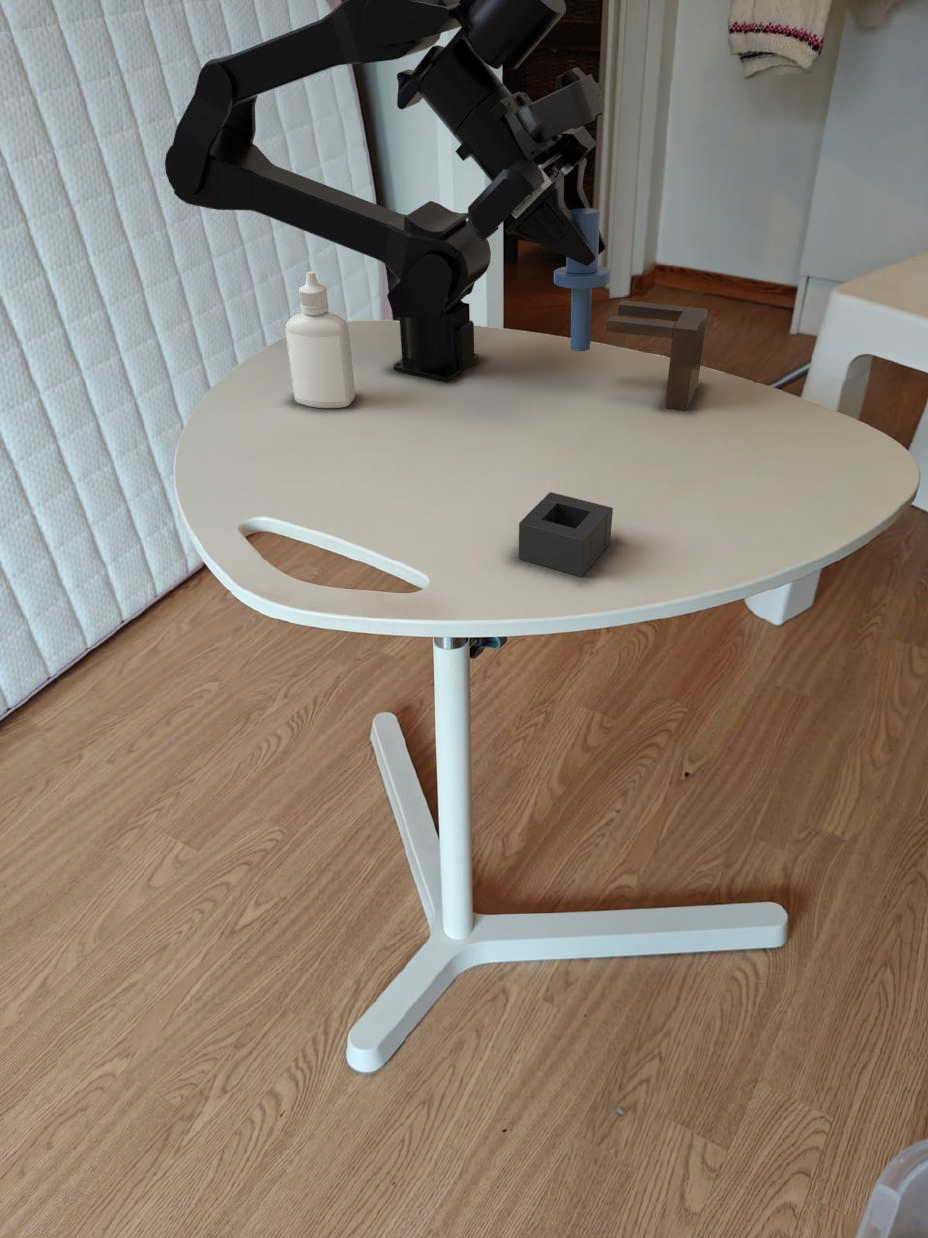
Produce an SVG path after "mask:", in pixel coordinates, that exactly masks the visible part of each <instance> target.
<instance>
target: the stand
mask: <svg viewBox="0 0 928 1238" xmlns="http://www.w3.org/2000/svg"><path fill="white" fill-rule="evenodd" d="M617 308H618V309H617V315H618V316H614V315H610V316H609V318H608V319H607V320H606V330H605V331H606V332H608V333H617V334H618V333H619V334H628V335H636V336H643V337H645V336H646V337H654V338H662V339H663V338H664V339H671V347H670V357H669V366H668V375H667V382H666V383H667V385H666V392H665V393H666V394H665V402H664V408H665V409H673V410H679V411H680V410H681V411H687V410H688V408H689V406H690V404H691V402H692V400H693V397H694V395H695V393H696V391H697V389H698V386H699V379H700V372H701V365H702V364H701V363H702V355H703V347H704V338H705V332H706V331H705V330H706V323H707V315H708V308H705V307H703V308H702V307H695V306H694V307H692V306H683V305H682V306H681V305H673V304H672V305H671V304H665V303H664V304H662V303H652V302H643V301H633V300H621V301H620V302H619V303H618V307H617Z"/></svg>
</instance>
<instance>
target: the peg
mask: <svg viewBox="0 0 928 1238" xmlns="http://www.w3.org/2000/svg"><path fill="white" fill-rule="evenodd" d="M569 212H570V213H571V215H572V216H573V218H574V220H575V221H576V223H577V224H578V226H579V228H580V229H581V231H582V232H583V234H584V236H585V237H586V239H587V241H588V242H589V244H590V246H591V248H592V249H593V251H594V253H595V255H596V259H595V260H594V261H593V262H592V263H591V264H590V265H588V266H586V265H583V264H581V263H579V262H577V261H575V260H573V259H571V258H569V257H566V256H565V257H566V260H565V261H566V263H565V265H566V266H562V267H558V268H556V269H554V271H553V284H554V285H556V286H558V287H561V288H564V289H565V288H566V289H571V294H570V295H571V298H570V299H571V300H570V301H571V303H570V350H571V351H573V352H586V351H589V350H590V349H591V327H592V325H591V324H592V295H593V294H592V292H593V291H592V289H595V288H600V287H604V286H607V285H608V284H610V283H611V269H610V268H609V267H605V266H603V265H599V255H598V249H599V230H600V215H601V214H600V212H601V211H600V210H599V209H598V208H592V207H590V208H579V209H572V210H569Z"/></svg>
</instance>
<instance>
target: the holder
mask: <svg viewBox="0 0 928 1238" xmlns="http://www.w3.org/2000/svg"><path fill="white" fill-rule="evenodd" d="M613 511H614V508H613V507H611V506H607V505H603V504H599V503H596V502H592V501H588V500H584V499H580V498H576V497H571V496H568V495H563V494H560V493H556V492H552V491H549V492H548V493H547V494H546V496H544V497H543V498H542V499H541V500H540V501H539V502H538V503H537V504H536V505H535V506H534V507H533V508H532V509H531V510H530V511H529V512H528V513H527V514H526V515H525V517H524V518H522V519H521V520H520V522H519V523H518V560H522V561H525V562H529V563H533V564H535V565H539V566H542V567H547V568H550V569H553V570H556V571H560V572H562V573H563V572H564V573H568V574H570V575H574V576H577V577H582V578H583V577H584V575H586V573H587V572H588V570H589V569H590V568H591V567H593V565H594V564H595V562H596V561H597V560H598V558H599V557H600V556H601V555H602V554H603V553H604V551H605V550H606V549H607V547H609V545H610V544H611V539H612V538H611V537H612V526H613V515H614V513H613Z"/></svg>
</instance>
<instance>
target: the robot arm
mask: <svg viewBox="0 0 928 1238" xmlns="http://www.w3.org/2000/svg"><path fill="white" fill-rule="evenodd" d="M566 12H567V6H566V3H565V0H342V1H341V2H340V3H339V4H338V5H337V6H336V7H335V8H334V9H333V10H332V11H330V12H329V13H328V14H327V15H325V16H324V17H322V18H321V19H318V20H316V21H314V22H311V23H309V24H306V25H304V26H301V27H298V28H296V29H293V30H291V31H289V32H286V33H283V34H281V35H278V36H275V37H273V38H271V39H268V40H266V41H263V42H261V43H258V44H256V45H253V46H251V47H248V48H246V49H243V50H241V51H238V52H236V53H233V54H229V55H224V56H221V57H220V56H219V57H215V58H212V59H210V60H208V61H207V62H205V64H204V65H203V67H201V70H200V71H199V74H198V78H197V82H196V85H195V90H194V93H193V95H192V98H191V99H190V101H189V103H188V105H187V107H186V109H185V111H184V113H183V114H182V116H181V118H180V119H179V122H178V124H177V125H176V130H175V133H174V136H173V141H172V145H170V146H169V148H168V150H167V151H166V154H165V159H164V167H165V174H166V177H167V180H168V183H169V185H170V186H171V188H172V190H173V193H174V195H175V196H176V197H177V198H178V200H181V202H184V203H185V204H187V205H191V206H196V207H201V208H205V209H210V210H214V211H215V210H216V211H251V212H255V213H257V214H258V213H259V214H260V215H264V216H266V217H268V218H270V219H273V220H276V221H278V222H281V223H284V224H286V225H288V226H290V227H292V228H293V227H294V228H296V229H298V230H301V231H303V232H306V233H308V234H312V235H314V236H316V237H318V238H322V239H324V240H326V241H329V242H332V243H334V244H337V245H340V246H342V247H344V248H347V249H349V250H352V251H355V252H357V253H359V254H362V255H364V256H368V257H370V258H372V259H375V260H378V261H380V262H381V263H383V264H384V265H385V266H386V267H387V269H389V271H390V272H391V273H392V274H393V275H394V276H395V277H396V278H397V280H398V282H397V284H395V285H394V287H393V288H391V290H390V291H389V292H387V295H386V297H387V300H388V304H389V305H390V308H391V310H392V313H393V316H395V317H398V319H399V332H400V333H399V334H400V350H401V359H400V360H398V361H397V362H394V363H393V370H394V371H396V372H400V373H405V374H410V375H415V376H419V377H425V378H429V379H433V380H434V379H435V380H438V381H443V382H444V381H445V382H447V381H451V380H452V379H453V378H455V377H457V376H458V375H459V374H461V373H462V372H464V371H465V370H466V369H467V368H469V367H470V366H472V365H473V364H474V363H476V362H477V361H478V360H479V356H480V355H479V354H478V353H475V324H474V321H473V320H471V318H470V317H471V316H470V314H471V312H470V311H471V309H470V303H467V302H464V301H463V299H464V298H465V297H466V296H467V295H470V294H472V292H473V289H474V287H475V283H476V282H477V281H478V280H479V279H480V278H482V277H483V275H484V274H485V273H486V272H487V271H488V269H489V267H490V265H491V259H492V258H491V257H492V251H491V247H490V241H489V240H488V239H489V238H491V236H492V235H494V234H495V233H496V232H497V231H498V230H499V229H500V228H499V227H500V225H501V224H502V223H503V222H504V221H506V219H508V217H509V216H511V215H512V217H513V219H514V220H513V222H511V223H510V225H508V227H506V228H505V229H504V231H505V233H506V234H507V235H511V234H514V235H516V236H518V237H521V238H523V239H526V240H527V241H531V242H533V243H536V244H538V245H541V246H543V247H545V248H547V249H550V250H552V251H554V252H556V253H558V254H560V255H563V256H564V257H569V258H571V259H573V260H575V261H577V262H579V263H581V264H583V265H586V266H588V265H590V264H591V263H592V262H593V261H594V260H595V259H596V255H595V253H594V251H593V249H592V248H591V246H590V244H589V242H588V241H587V239H586V237H585V236H584V234H583V232H582V231H581V229H580V228H579V226H578V224H577V223H576V221H575V220H574V218H573V216H572V215H571V213H570V212H569V210H572V209H579V208H591V206H590V204H589V202H588V199H587V196H586V194H585V191H584V188H583V182H584V175H585V168H586V166H587V158H586V157H585V156H586V155H587V154H588V153H590V151H591V150H592V149H593V148H594V147H595V146H596V144H597V142H596V141H595V139H594V138H593V137H592V135H591V134H590V133H589V131H588V130H587V129H586V128H585V126H586V125H588V124H590V123H591V122H593V121H595V120H596V117H599V116H602V115H604V109H603V105H602V103H601V99H600V96H599V94H600V93H601V91H602V87H601V84H600V83H599V82H596V81H595V79H594V77H593V74H592V73H590V74H588V75H586V74H585V73H584V72H583V70H581V69H580V68H579V66H576V67H574V68H572V69H570V70H568V71H566V72H564V73H562V74H560V75H558V76H557V77H556V80H555V91H553V92H551V93H549V94H547V95H546V96H543V97H542V98H539V99H537V100H535V101H533V100H532V99H531V98H530V97H529V96H528V94H527V93H526V92H523V91H522V92H521V91H520V90H518V91H517V92H516V91H515V93H511V92H510V90H509V89H508V88H507V87H506V86H505V84H504V83H503V82H502V81H501V79H500V78H499V77H498V76H497V74H496V73H495V72H494V70H493V69H496V70H500V69H501V68H502V66H504V67H506V68H507V69H511V70H517V69H518V68H519V67H520V65H521V64H523V62H524V61H525V59H527V58H528V56H529V55H530V54H531V53H532V52H533V50H535V48H537V46H538V45H539V43H541V41H542V40H543V39H544V38H545V36H546V35H548V33H549V32H550V31H551V30H552V29H553V28H554V26H555V25H557V23H558V22H559V20H560V19H562V17H564V16H565V13H566ZM455 29H458V31H457V32H456V33H455V35H454V36H453V37H452V38H451V39H450V41H448V43H447V44H446V45H445V46H442V45H436V44H437V42H438V41H439V40H440V38H441V35H442V34H443V33H445V32H449V31H452V30H455ZM429 48H430V49H429ZM428 49H429V50H428ZM425 50H428V51H427V52H426V54H425V55H424V56H423V57H422V58H421V60H420V61H419V63H418V64H417V65H416V66H415V67H414V69H409V68H408V69H405V70H403V71H400V72H398V73H397V74H396V80H397V86H398V87H397V95H396V106H397V108H398V109H399V110H405V109H407V108H410V107H412V106H414V105H417V104H419V103H420V101H422V99H423V101H425V103H426V104H427V105H428V106H429V108H430V109H431V110H432V112H433V113H434V114H435V115H436V117H438V118H439V120H440V121H441V122H442V123H443V125H444V126H445V127H446V128H447V129H448V131H449V132H450V133H451V134H452V135H453V137H454V138H455V140H456V141H457V142H458V143H459V144H460V146H459V147H457V149H456V150H455V153H456V155H457V156H458V157H459V158H460V159H461V160H462V162H464V161H466V160H467V159H469V158H471V159H472V160H473V161H474V162H475V163H476V165H477V166H478V167H479V168H480V169H481V171H482V172H483V173H484V175H485V176H486V177H487V178H488V179H489V180H490V183H489V184H488V186H487V187H485V188H484V190H483V191H482V192H481V193H479V195H478V196H477V197H476V198H475V199H474V200H473V201H472V202H471V203H470V205H469V206H468V207H467V212H462V213H461V212H456V211H453V210H451V209H448V208H447V207H445V206H444V205H442V204H440V203H438V202H436V201H432V200H429V201H428V202H426V203H424V204H423V205H421V206H419V207H418V208H416V209H414V210H413V211H412V212H410V213H408V214H405V213H400V212H398V211H395V210H392V209H390V208H386V207H384V206H381V205H379V204H376V203H374V202H371V201H369V200H366V199H364V198H361V197H357V196H356V195H353V194H350V193H348V192H345V191H342V190H340V189H337V188H334V187H332V186H329V185H327V184H324V183H323V182H322V183H321V182H318V181H316V180H314V179H311V178H308V177H306V176H303V175H301V174H298V173H297V172H296V173H295V172H293V171H290V170H288V169H284V168H283V167H280V166H278V165H275V164H274V163H272V162H271V161H270V160H269V158H268V157H267V156H266V155H265V154H264V153H263V151H262V150H261V149H260V148H259V147H258V146H257V144H254V139H255V136H256V132H257V124H256V123H257V122H256V103H257V100H258V97H259V95H262V94H265V93H267V92H270V91H272V90H275V89H279V88H281V87H283V86H286V85H289V84H292V83H294V82H298V81H300V80H303V79H305V78H308V77H311V76H314V75H316V74H320V73H321V72H325V71H327V70H330V69H333V68H335V67H338V66H343V65H361V64H362V65H363V64H371V63H379V62H380V63H381V62H387V61H394V60H399V59H402V58H404V57H407V56H410V55H413V54H416V53H420V52H422V51H425ZM606 248H607V244H606V242H605V240H604V237H603V235H602V233H601V230H600V229H599V249H598V256H599V255H600V254H602V253H603V252H604V251H606Z"/></svg>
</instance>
